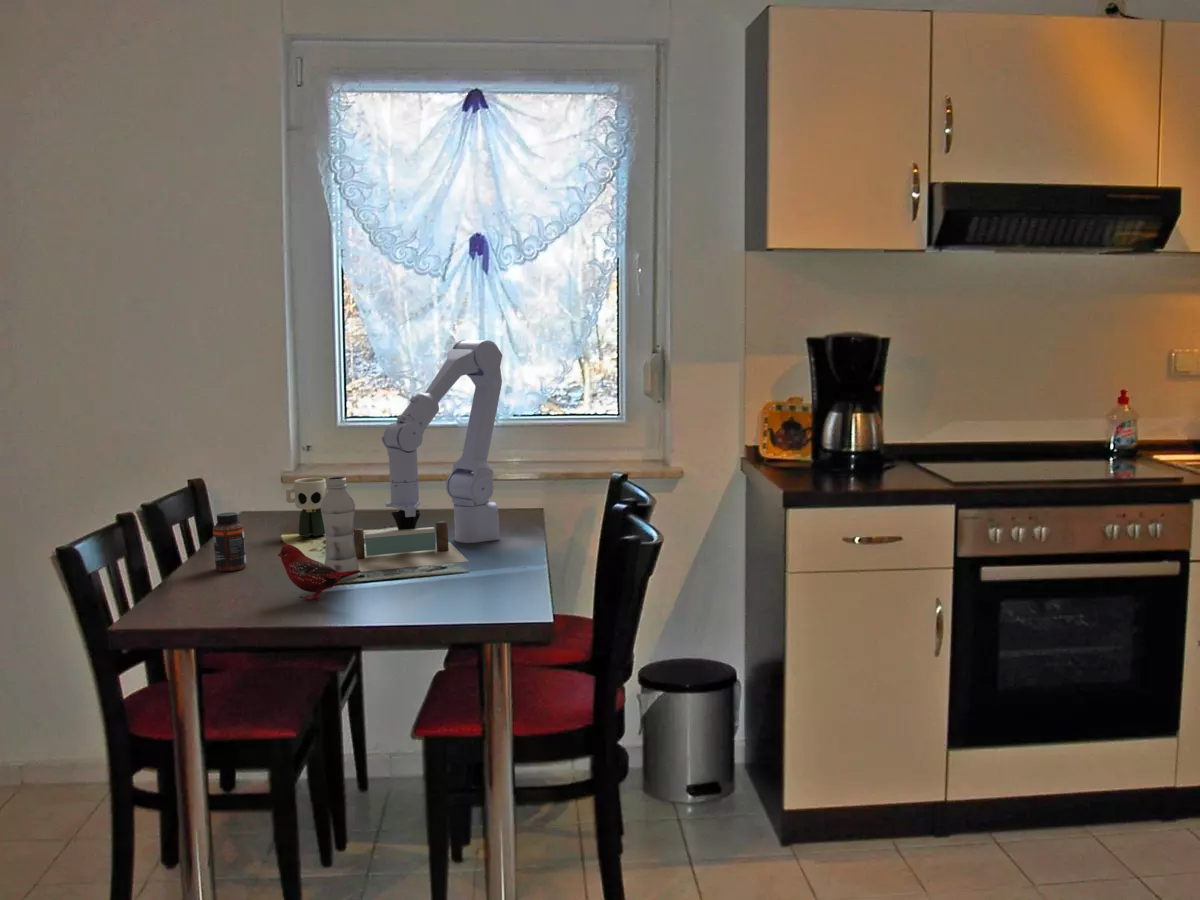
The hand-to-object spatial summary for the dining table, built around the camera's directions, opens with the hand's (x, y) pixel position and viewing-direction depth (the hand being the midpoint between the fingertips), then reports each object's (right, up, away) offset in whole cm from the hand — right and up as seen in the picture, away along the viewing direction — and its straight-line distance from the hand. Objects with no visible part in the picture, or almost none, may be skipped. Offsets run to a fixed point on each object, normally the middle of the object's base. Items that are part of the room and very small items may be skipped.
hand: (407, 545), depth 237 cm
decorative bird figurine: (-10, -7, -34) cm, 36 cm away
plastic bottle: (-9, -6, -20) cm, 23 cm away
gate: (-1, -1, -2) cm, 3 cm away
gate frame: (0, -3, -4) cm, 5 cm away
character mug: (-26, 0, +25) cm, 36 cm away
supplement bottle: (-34, -4, -6) cm, 35 cm away
